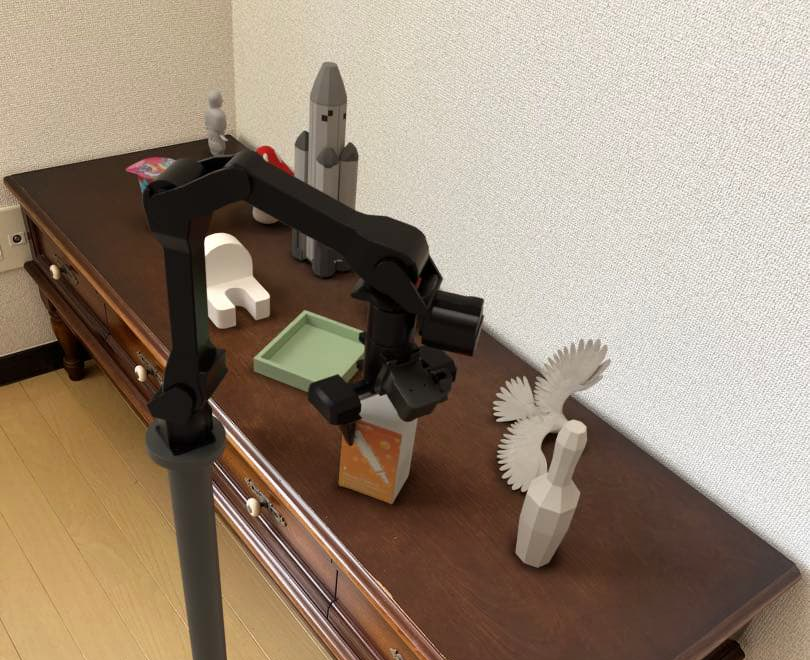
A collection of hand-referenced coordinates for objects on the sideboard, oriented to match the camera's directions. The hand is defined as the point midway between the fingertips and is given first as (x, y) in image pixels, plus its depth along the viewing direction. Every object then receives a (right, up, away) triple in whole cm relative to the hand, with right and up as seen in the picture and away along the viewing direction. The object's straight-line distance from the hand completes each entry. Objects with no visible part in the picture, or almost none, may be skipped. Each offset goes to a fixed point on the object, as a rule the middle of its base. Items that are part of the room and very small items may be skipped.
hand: (379, 432), depth 106 cm
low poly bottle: (+20, -16, 0) cm, 26 cm away
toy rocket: (-12, +33, +46) cm, 58 cm away
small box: (-1, -7, +6) cm, 9 cm away
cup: (-42, +40, +48) cm, 76 cm away
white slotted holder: (-28, +25, +35) cm, 51 cm away
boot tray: (-11, +12, +24) cm, 29 cm away
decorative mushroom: (-24, +43, +55) cm, 74 cm away
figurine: (-37, +61, +71) cm, 100 cm away
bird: (+21, -2, +15) cm, 25 cm away
